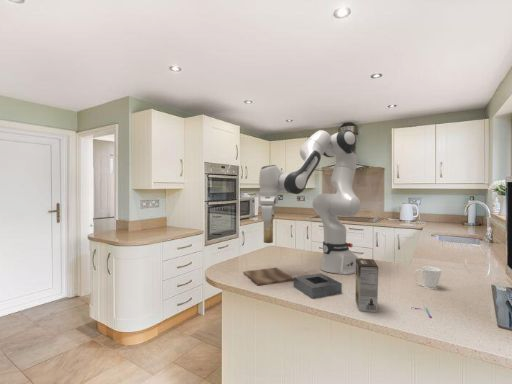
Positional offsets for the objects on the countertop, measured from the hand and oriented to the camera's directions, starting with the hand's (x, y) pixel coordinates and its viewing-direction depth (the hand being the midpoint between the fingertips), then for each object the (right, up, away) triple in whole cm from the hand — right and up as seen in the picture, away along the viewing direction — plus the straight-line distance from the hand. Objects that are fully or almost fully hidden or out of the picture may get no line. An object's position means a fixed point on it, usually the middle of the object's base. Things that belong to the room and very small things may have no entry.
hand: (268, 229), depth 131 cm
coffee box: (+34, -24, -31) cm, 51 cm away
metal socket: (+19, -23, -15) cm, 34 cm away
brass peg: (0, -6, 0) cm, 6 cm away
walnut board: (0, -23, 0) cm, 23 cm away
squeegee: (+52, -24, -31) cm, 66 cm away
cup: (+68, -24, -11) cm, 72 cm away
